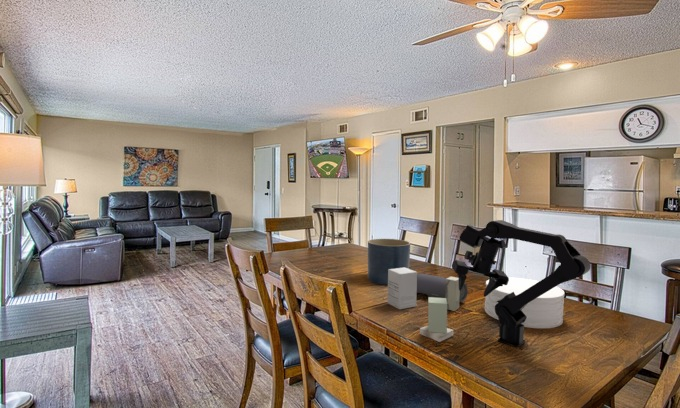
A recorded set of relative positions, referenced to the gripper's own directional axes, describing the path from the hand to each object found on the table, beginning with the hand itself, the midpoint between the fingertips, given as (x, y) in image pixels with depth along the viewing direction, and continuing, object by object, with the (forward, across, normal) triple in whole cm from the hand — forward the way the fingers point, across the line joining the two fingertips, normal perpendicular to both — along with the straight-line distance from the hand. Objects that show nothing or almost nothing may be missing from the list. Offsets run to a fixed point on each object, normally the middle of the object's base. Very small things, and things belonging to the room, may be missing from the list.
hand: (471, 293), depth 132 cm
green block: (+12, +11, +9) cm, 18 cm away
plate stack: (+10, -28, -13) cm, 33 cm away
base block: (+14, +10, +10) cm, 20 cm away
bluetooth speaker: (+21, -1, -29) cm, 36 cm away
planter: (+31, +18, -57) cm, 68 cm away
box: (+17, -2, -16) cm, 24 cm away
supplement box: (+22, +17, -19) cm, 34 cm away
